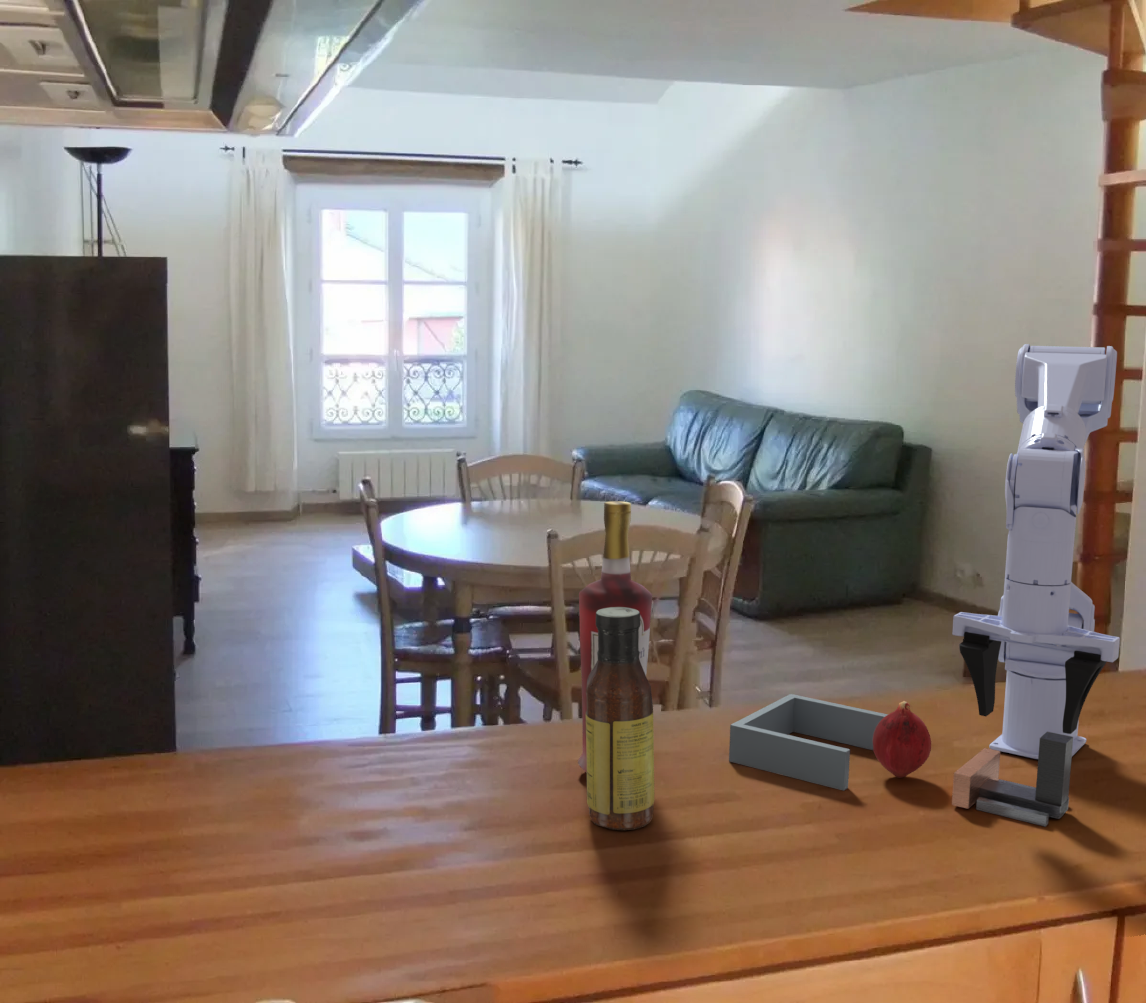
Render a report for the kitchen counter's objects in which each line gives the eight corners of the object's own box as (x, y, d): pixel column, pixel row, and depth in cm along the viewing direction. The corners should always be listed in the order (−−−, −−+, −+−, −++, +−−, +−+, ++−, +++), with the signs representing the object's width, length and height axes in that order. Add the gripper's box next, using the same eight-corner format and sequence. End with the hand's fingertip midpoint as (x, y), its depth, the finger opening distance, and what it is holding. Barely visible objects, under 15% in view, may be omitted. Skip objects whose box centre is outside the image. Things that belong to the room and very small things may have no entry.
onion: (931, 790, 123) (935, 713, 122) (871, 785, 125) (876, 708, 123) (926, 770, 129) (931, 696, 128) (869, 765, 130) (874, 691, 129)
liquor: (631, 759, 131) (638, 497, 127) (658, 784, 124) (666, 507, 120) (566, 765, 128) (570, 499, 124) (589, 791, 122) (595, 510, 117)
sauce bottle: (661, 812, 117) (667, 607, 114) (643, 838, 111) (649, 622, 108) (595, 802, 119) (599, 600, 116) (574, 827, 113) (578, 615, 110)
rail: (998, 788, 124) (999, 779, 124) (1065, 804, 120) (1066, 794, 120) (976, 809, 119) (976, 799, 119) (1045, 826, 115) (1046, 816, 115)
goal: (788, 727, 142) (790, 693, 141) (897, 752, 134) (899, 717, 134) (728, 761, 131) (730, 724, 130) (843, 790, 123) (845, 752, 122)
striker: (982, 778, 126) (987, 709, 125) (1076, 799, 121) (1082, 728, 120) (951, 804, 119) (956, 732, 118) (1050, 829, 114) (1056, 753, 113)
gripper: (944, 575, 115) (935, 716, 117) (1109, 599, 106) (1097, 750, 108) (970, 563, 120) (962, 698, 122) (1130, 585, 112) (1117, 729, 114)
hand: (1027, 721), depth 116 cm, fingers open, 7 cm apart
